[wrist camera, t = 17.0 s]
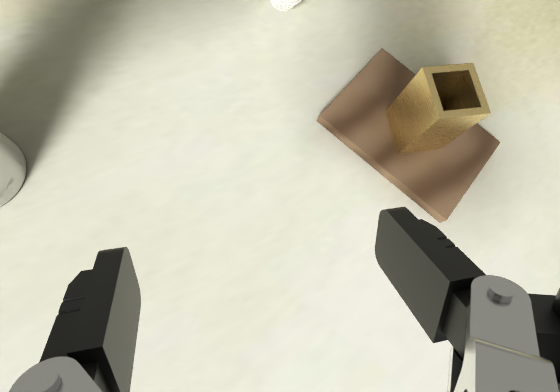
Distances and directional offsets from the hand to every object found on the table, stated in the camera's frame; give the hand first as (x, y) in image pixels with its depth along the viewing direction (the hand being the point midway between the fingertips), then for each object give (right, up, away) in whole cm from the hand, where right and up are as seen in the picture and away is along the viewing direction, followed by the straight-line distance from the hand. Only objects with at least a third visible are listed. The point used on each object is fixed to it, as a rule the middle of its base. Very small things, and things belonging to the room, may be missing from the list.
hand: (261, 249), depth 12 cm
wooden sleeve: (+18, +10, +36) cm, 41 cm away
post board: (+17, +10, +37) cm, 42 cm away
